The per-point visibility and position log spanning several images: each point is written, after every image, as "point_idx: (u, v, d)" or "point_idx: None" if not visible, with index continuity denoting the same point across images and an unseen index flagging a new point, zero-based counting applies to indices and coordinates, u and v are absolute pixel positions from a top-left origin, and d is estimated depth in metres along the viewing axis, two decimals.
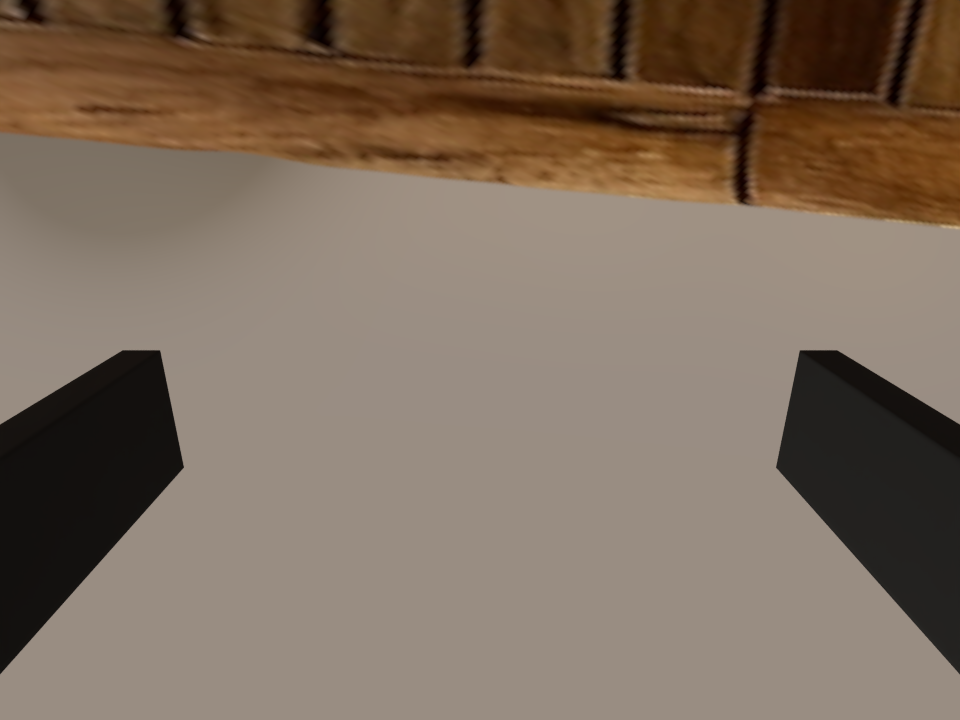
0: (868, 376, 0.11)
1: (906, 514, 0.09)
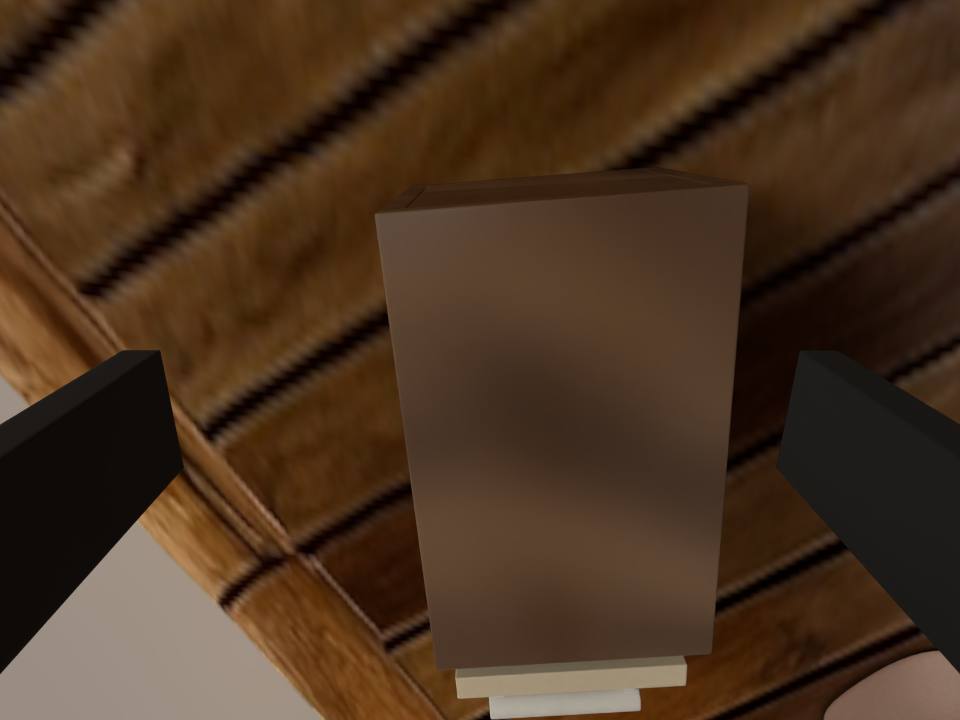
0: (868, 376, 0.11)
1: (906, 514, 0.09)
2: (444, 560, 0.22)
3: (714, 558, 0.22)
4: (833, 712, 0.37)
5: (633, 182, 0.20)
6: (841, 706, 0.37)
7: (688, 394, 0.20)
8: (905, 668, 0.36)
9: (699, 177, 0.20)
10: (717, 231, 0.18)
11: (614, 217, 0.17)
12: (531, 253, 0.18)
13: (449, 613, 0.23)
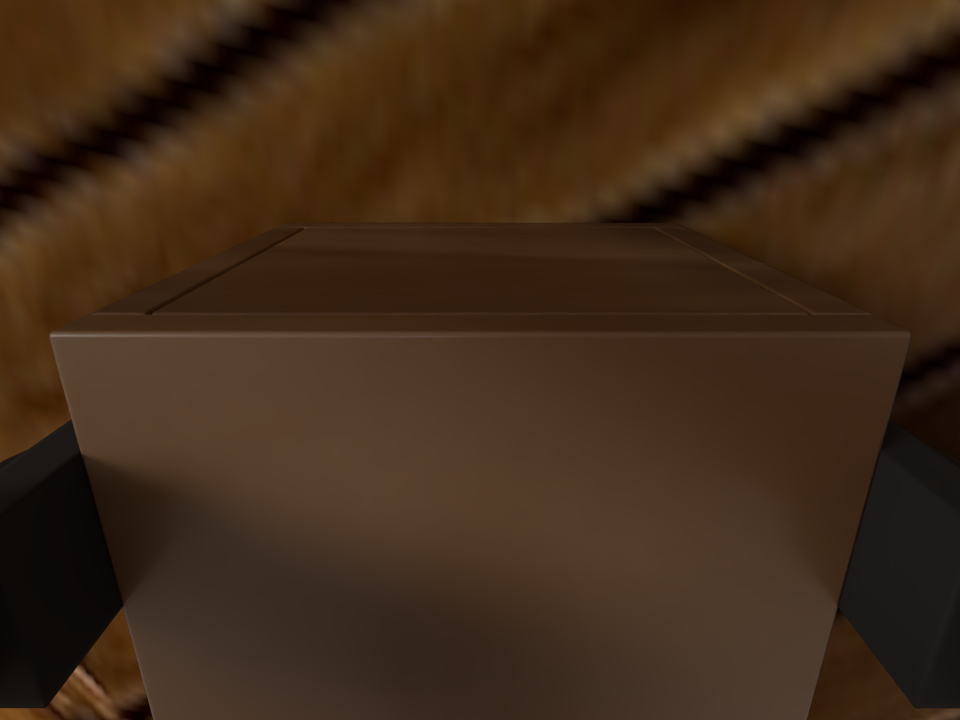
0: None
1: None
2: None
3: None
4: None
5: (643, 274, 0.11)
6: None
7: (723, 710, 0.10)
8: None
9: (771, 275, 0.10)
10: (825, 424, 0.08)
11: (600, 380, 0.08)
12: (412, 439, 0.08)
13: None
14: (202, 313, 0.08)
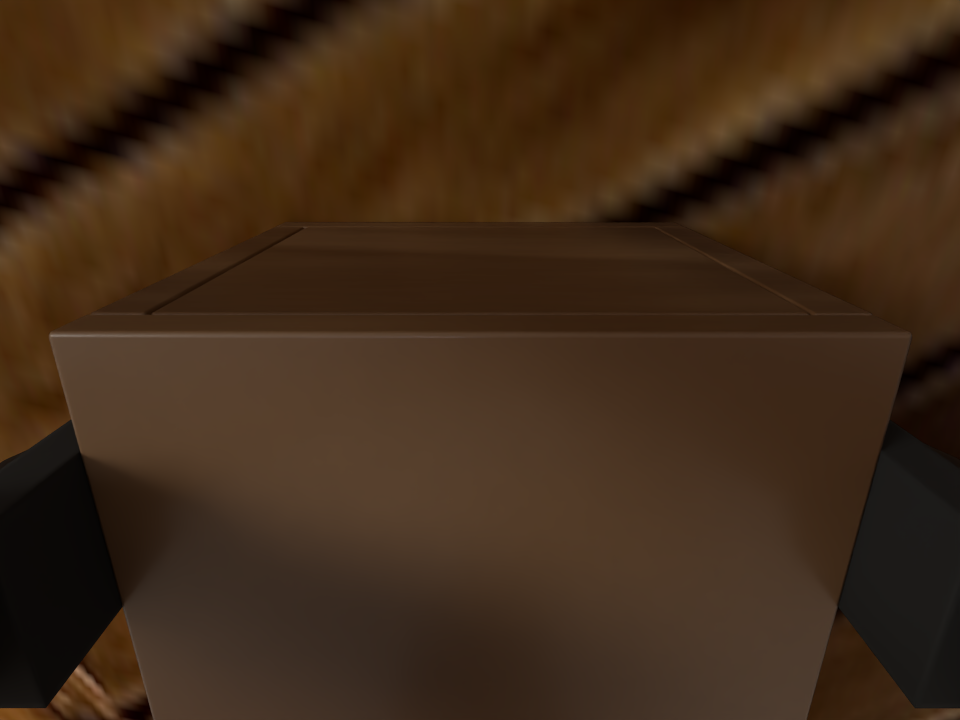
0: None
1: None
2: None
3: None
4: None
5: (644, 274, 0.11)
6: None
7: (722, 709, 0.10)
8: None
9: (771, 276, 0.10)
10: (825, 424, 0.08)
11: (600, 380, 0.08)
12: (412, 440, 0.08)
13: None
14: (202, 313, 0.08)
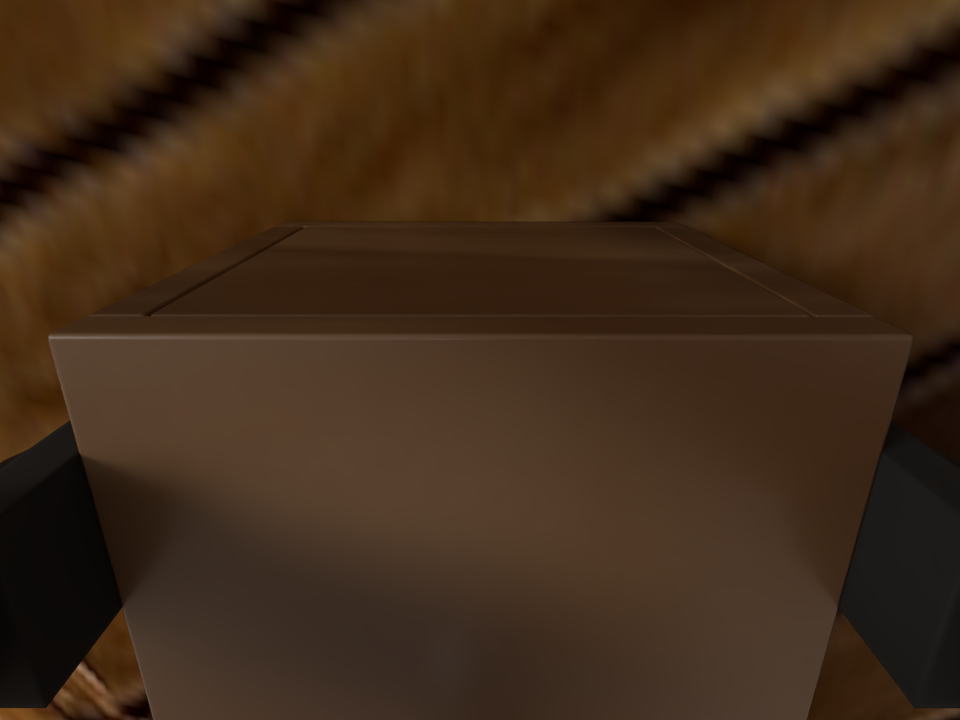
0: None
1: None
2: None
3: None
4: None
5: (644, 275, 0.11)
6: None
7: (722, 710, 0.10)
8: None
9: (772, 276, 0.10)
10: (826, 427, 0.08)
11: (601, 382, 0.08)
12: (412, 442, 0.08)
13: None
14: (201, 315, 0.08)
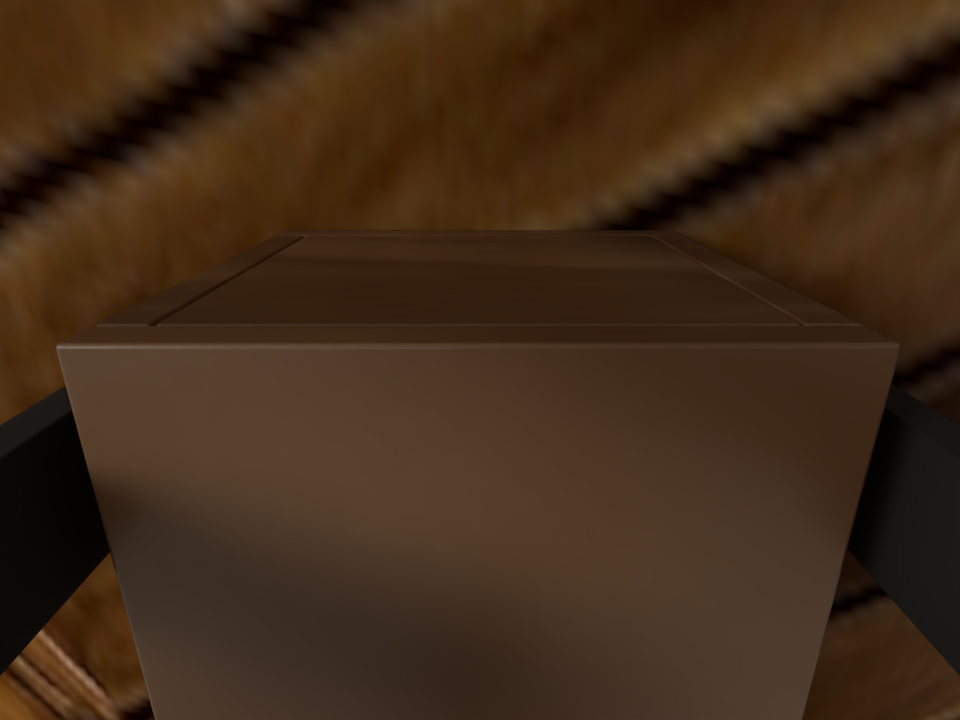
0: None
1: (904, 513, 0.09)
2: None
3: None
4: None
5: (639, 284, 0.11)
6: None
7: (717, 713, 0.10)
8: None
9: (764, 285, 0.11)
10: (816, 433, 0.08)
11: (596, 390, 0.08)
12: (411, 448, 0.08)
13: None
14: (205, 324, 0.08)
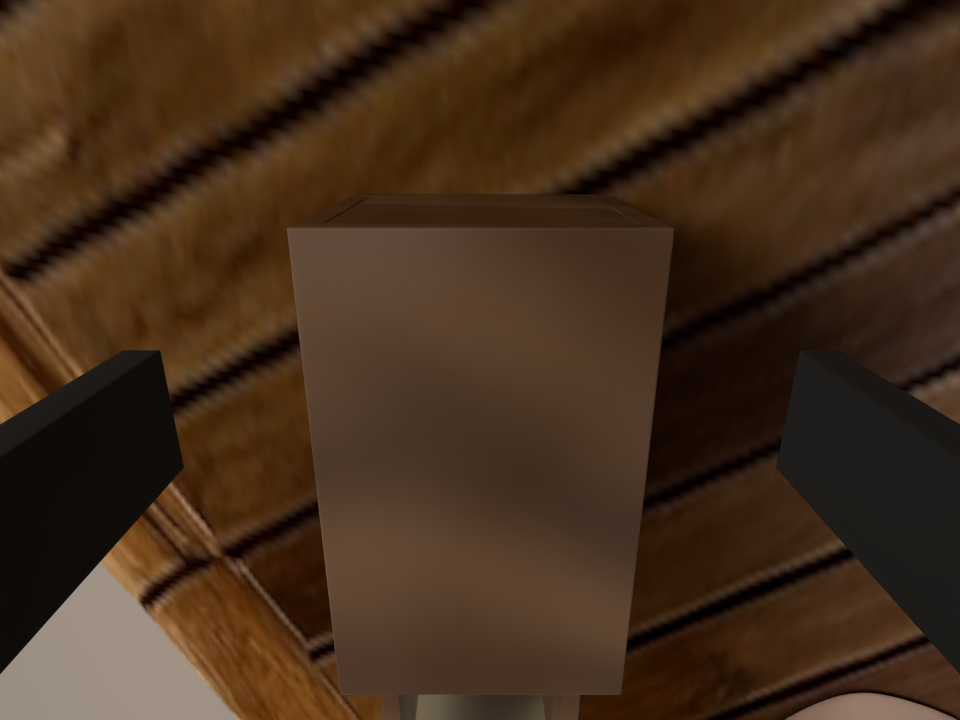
0: (868, 376, 0.11)
1: (906, 514, 0.09)
2: (351, 584, 0.21)
3: (626, 600, 0.21)
4: None
5: (567, 213, 0.20)
6: None
7: (605, 434, 0.19)
8: (831, 708, 0.36)
9: (634, 213, 0.20)
10: (640, 272, 0.17)
11: (535, 250, 0.17)
12: (448, 280, 0.17)
13: (354, 638, 0.22)
14: (349, 223, 0.17)
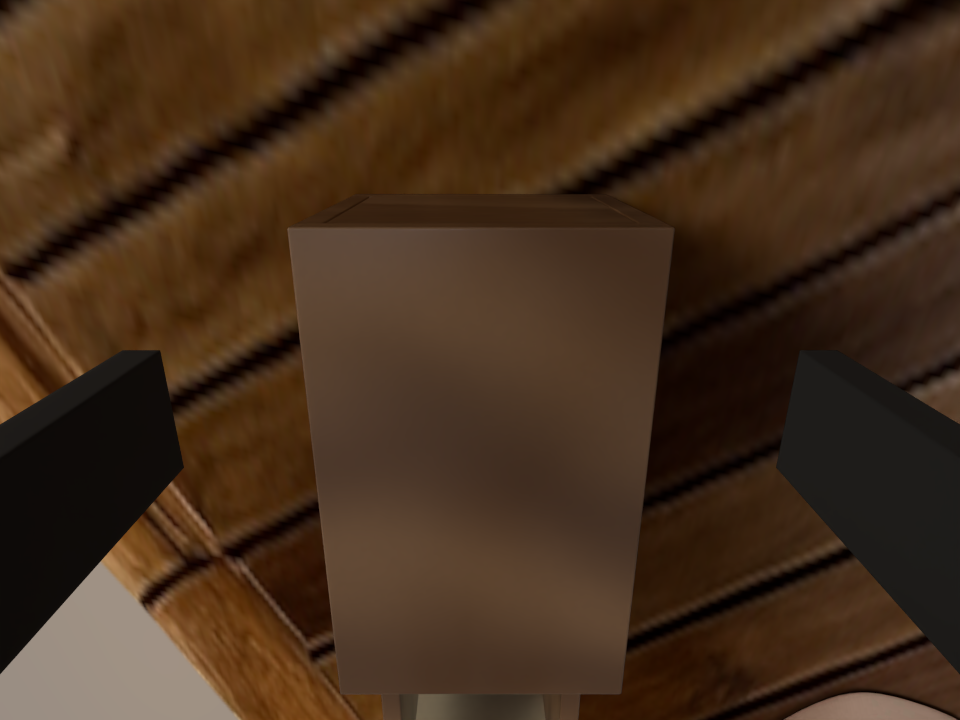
0: (868, 376, 0.11)
1: (906, 514, 0.09)
2: (351, 584, 0.21)
3: (626, 599, 0.21)
4: None
5: (568, 212, 0.20)
6: None
7: (605, 434, 0.19)
8: (830, 708, 0.36)
9: (634, 213, 0.20)
10: (640, 272, 0.17)
11: (535, 250, 0.17)
12: (449, 280, 0.17)
13: (355, 638, 0.22)
14: (350, 223, 0.18)
